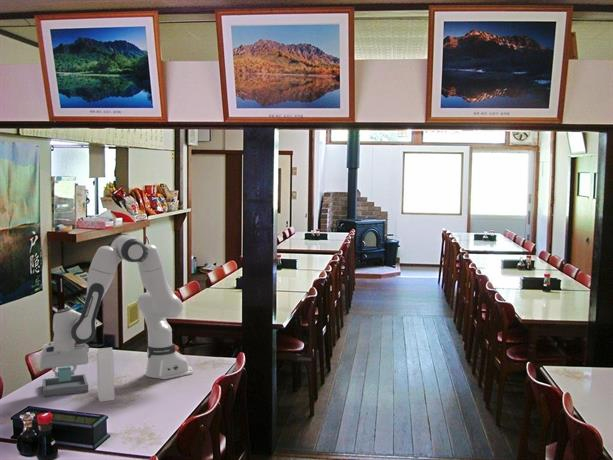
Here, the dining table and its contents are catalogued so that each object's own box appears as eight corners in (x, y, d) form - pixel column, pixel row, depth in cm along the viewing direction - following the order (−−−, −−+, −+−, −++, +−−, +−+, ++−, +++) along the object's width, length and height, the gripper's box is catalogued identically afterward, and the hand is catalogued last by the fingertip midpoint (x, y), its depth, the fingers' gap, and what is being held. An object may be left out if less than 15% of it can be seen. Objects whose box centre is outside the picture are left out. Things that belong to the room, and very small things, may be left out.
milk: (97, 397, 263) (96, 347, 261) (112, 395, 266) (111, 345, 264) (99, 402, 258) (98, 350, 256) (114, 399, 260) (113, 348, 258)
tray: (84, 380, 284) (84, 374, 284) (88, 391, 270) (88, 384, 270) (42, 385, 277) (42, 379, 277) (43, 397, 262) (43, 390, 262)
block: (70, 376, 276) (70, 366, 276) (71, 380, 271) (71, 369, 271) (58, 378, 274) (58, 367, 273) (59, 381, 269) (58, 370, 269)
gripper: (88, 341, 279) (88, 370, 280) (39, 345, 270) (39, 376, 271) (89, 344, 273) (90, 374, 274) (39, 349, 264) (40, 380, 265)
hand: (64, 375), depth 273 cm, fingers closed on block, 5 cm apart
